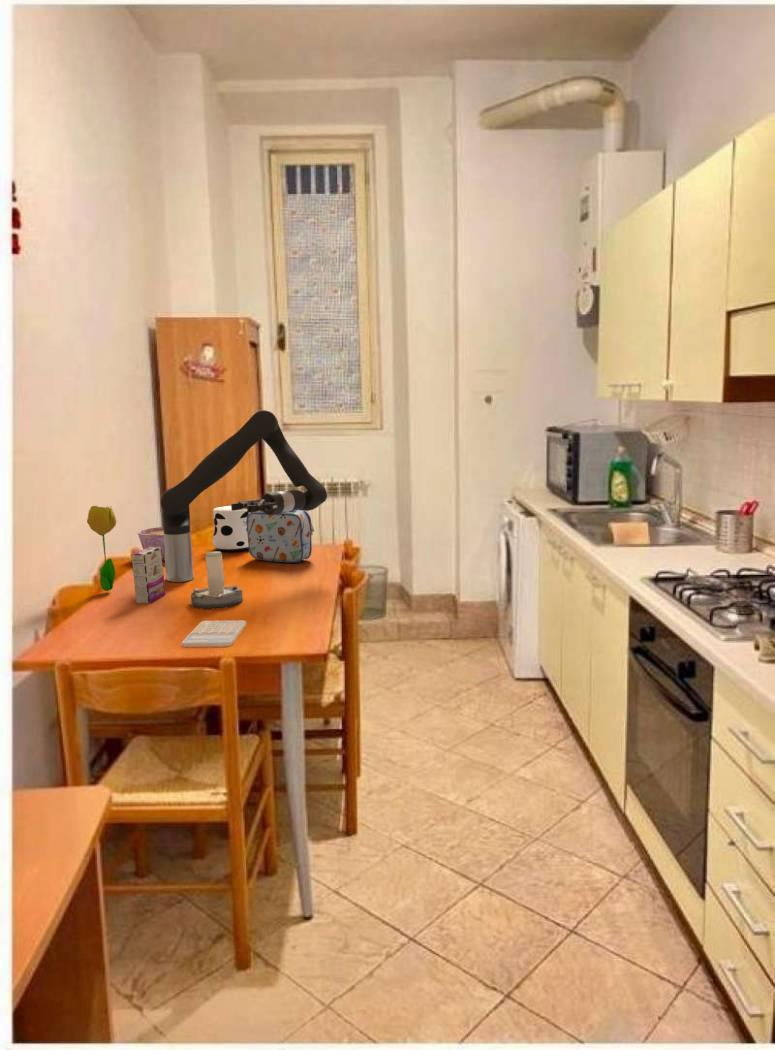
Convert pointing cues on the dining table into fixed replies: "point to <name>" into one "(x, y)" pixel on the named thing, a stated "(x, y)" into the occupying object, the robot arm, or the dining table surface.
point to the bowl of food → (153, 538)
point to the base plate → (216, 598)
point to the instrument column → (215, 572)
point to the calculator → (214, 633)
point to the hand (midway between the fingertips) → (239, 508)
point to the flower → (103, 523)
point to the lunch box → (280, 536)
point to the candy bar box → (148, 575)
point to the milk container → (230, 529)
